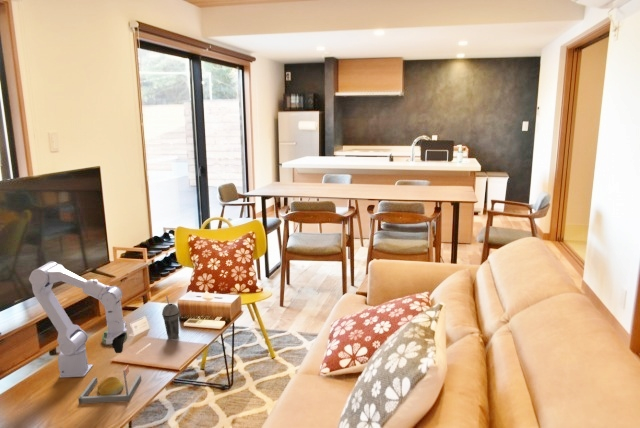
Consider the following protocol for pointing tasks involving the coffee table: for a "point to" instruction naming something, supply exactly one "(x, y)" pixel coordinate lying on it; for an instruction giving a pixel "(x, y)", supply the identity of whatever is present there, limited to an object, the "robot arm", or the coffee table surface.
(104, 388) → the bread roll
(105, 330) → the decorative artifact
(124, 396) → the frame
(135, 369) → the coffee table surface
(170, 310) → the beverage cup
